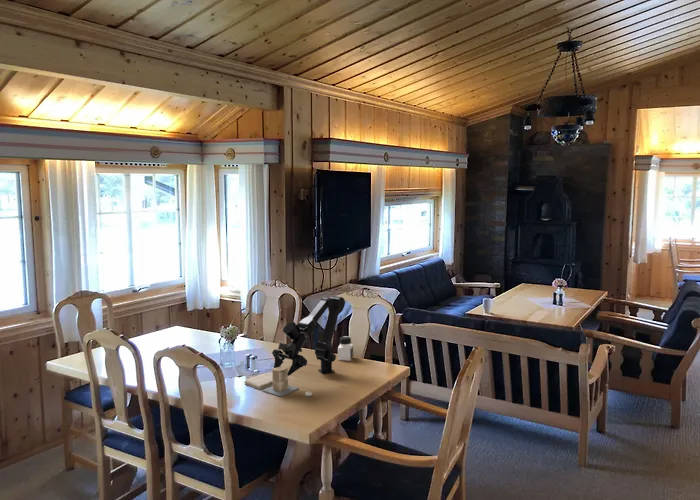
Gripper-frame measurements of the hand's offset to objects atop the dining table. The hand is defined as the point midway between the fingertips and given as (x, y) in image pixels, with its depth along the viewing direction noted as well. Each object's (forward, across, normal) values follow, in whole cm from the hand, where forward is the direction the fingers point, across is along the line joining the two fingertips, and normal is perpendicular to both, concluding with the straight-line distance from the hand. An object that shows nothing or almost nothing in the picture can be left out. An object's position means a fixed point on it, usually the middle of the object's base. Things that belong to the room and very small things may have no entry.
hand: (280, 373), depth 274 cm
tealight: (+4, +15, +7) cm, 17 cm away
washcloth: (+4, -13, +8) cm, 16 cm away
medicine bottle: (-32, -6, +45) cm, 56 cm away
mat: (+6, 0, +5) cm, 8 cm away
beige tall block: (+6, 0, +5) cm, 7 cm away
